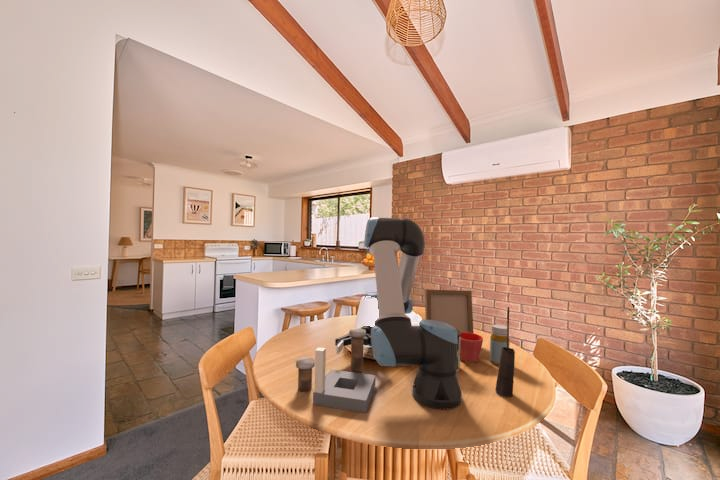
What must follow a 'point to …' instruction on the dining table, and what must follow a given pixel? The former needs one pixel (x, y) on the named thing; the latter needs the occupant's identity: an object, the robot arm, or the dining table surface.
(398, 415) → the dining table surface
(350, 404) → the hole block
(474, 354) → the flower pot
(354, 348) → the long pin
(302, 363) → the short pin
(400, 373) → the dining table surface
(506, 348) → the walkie talkie
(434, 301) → the photo frame
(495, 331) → the bottle
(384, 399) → the dining table surface
